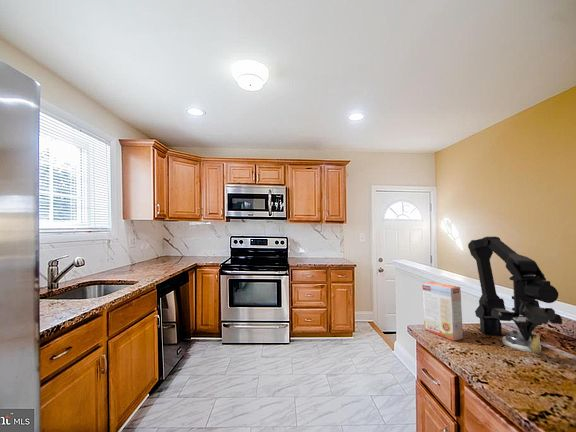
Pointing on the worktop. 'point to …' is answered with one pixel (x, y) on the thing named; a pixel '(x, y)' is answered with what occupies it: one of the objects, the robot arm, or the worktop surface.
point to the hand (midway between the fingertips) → (526, 340)
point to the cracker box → (442, 310)
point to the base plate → (516, 345)
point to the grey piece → (518, 339)
